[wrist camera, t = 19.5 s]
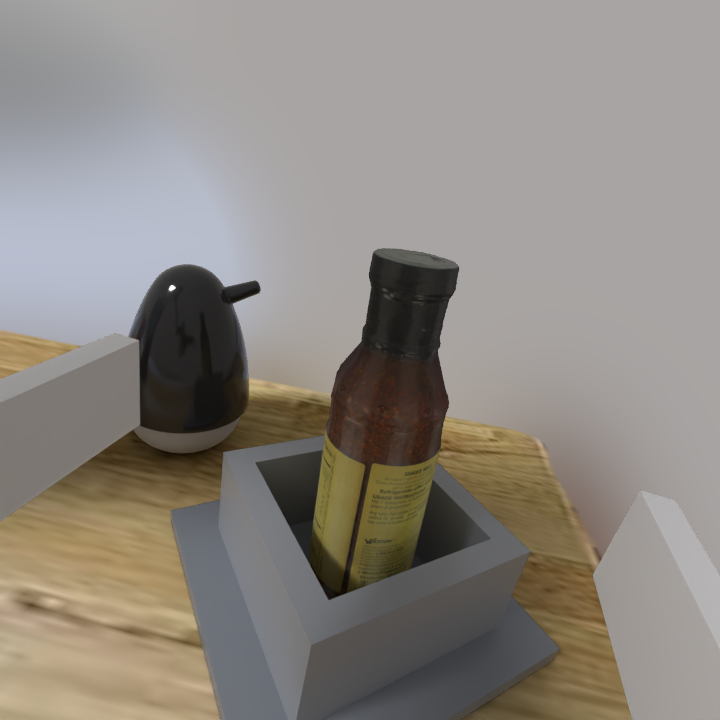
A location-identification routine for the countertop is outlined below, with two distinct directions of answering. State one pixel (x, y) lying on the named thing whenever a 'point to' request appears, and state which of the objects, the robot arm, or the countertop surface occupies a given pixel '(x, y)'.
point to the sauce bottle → (384, 427)
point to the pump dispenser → (191, 360)
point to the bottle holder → (350, 603)
